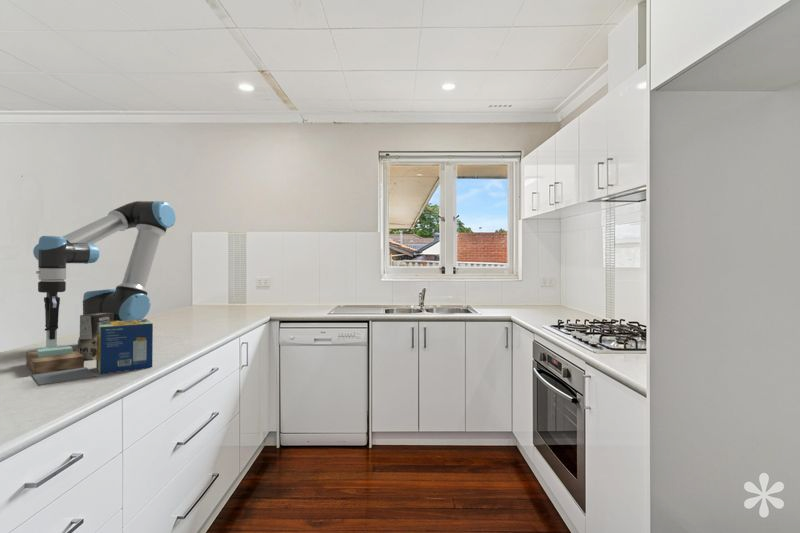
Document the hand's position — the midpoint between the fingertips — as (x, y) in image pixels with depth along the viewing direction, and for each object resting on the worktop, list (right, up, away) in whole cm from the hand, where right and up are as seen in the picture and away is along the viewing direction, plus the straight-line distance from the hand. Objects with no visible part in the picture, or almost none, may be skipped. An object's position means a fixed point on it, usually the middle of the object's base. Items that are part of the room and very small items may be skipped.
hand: (51, 348), depth 151 cm
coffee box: (+7, -6, +12) cm, 15 cm away
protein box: (+27, -6, -2) cm, 28 cm away
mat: (+15, -6, -14) cm, 22 cm away
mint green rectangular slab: (+3, -2, -2) cm, 4 cm away
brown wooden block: (+3, -6, -3) cm, 7 cm away
